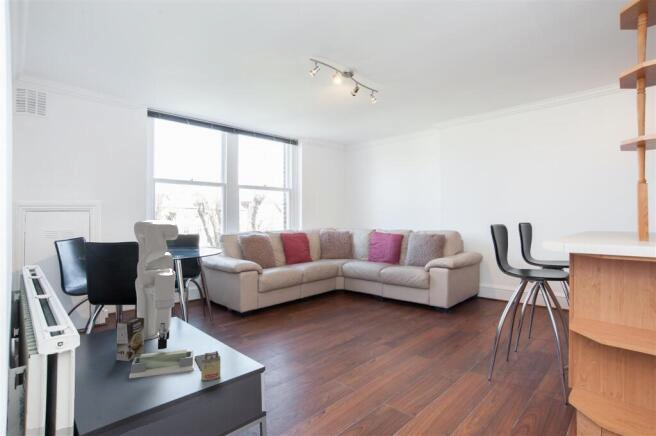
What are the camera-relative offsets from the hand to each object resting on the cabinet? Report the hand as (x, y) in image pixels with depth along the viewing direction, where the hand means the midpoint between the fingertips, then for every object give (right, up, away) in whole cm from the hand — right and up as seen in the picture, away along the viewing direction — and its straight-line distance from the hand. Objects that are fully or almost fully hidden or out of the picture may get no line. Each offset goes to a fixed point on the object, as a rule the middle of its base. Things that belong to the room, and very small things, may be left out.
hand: (163, 343), depth 140 cm
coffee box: (-19, -10, +10) cm, 24 cm away
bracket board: (0, -10, 0) cm, 10 cm away
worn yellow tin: (+22, -11, -8) cm, 26 cm away
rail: (0, -9, 0) cm, 9 cm away
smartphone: (+15, -11, +5) cm, 19 cm away
